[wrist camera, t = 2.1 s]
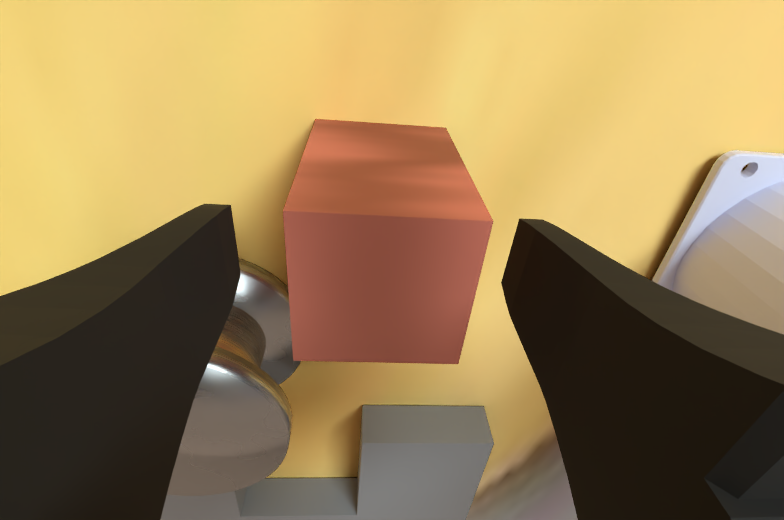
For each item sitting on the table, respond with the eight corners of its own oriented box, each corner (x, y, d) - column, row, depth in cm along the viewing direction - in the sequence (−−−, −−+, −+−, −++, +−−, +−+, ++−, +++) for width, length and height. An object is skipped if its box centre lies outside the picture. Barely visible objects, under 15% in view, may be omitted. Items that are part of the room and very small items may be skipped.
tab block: (445, 127, 13) (493, 221, 8) (428, 237, 15) (458, 364, 10) (315, 118, 13) (282, 210, 8) (317, 232, 15) (293, 360, 10)
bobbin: (304, 256, 15) (281, 359, 11) (309, 383, 19) (293, 495, 15) (102, 248, 15) (0, 354, 11) (149, 381, 19) (88, 496, 15)
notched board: (483, 406, 21) (493, 443, 19) (456, 490, 25) (463, 526, 24) (100, 402, 19) (75, 442, 18) (142, 493, 24) (126, 531, 22)
